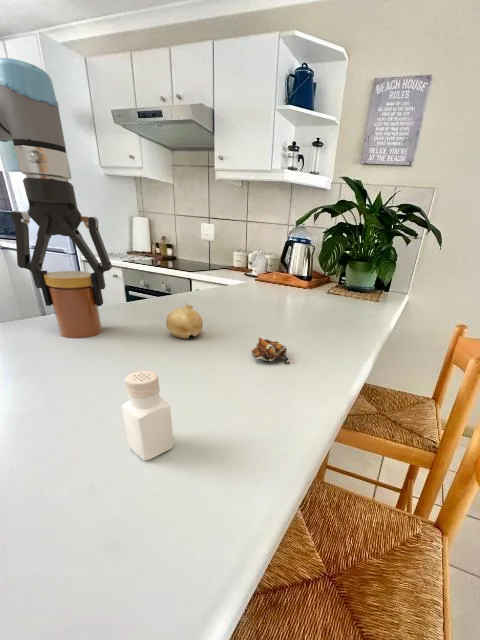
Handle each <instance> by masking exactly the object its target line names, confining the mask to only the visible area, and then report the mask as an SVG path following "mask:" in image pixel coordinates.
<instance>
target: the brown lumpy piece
mask: <svg viewBox="0 0 480 640" xmlns="http://www.w3.org/2000/svg"><path fill="white" fill-rule="evenodd" d="M286 352H287V347H286V346H285V345H282V343H280V342H279V341H277V340H271V339H269V338H266V339H263V338H261V337H260V336H259V337H258V341H257V344H256V347H255V348H253V349H252V350H251V354H252V356H254V358H255V359H261V360H262V361H268V362H273V361H274V360H275V359H277V358H278V359H279V358H281V359H284V362H283V363H284V364H288V365H289V364H290V363H291V360H290V359H289V358H288V357H287V355H286Z"/></svg>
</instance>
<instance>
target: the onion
mask: <svg viewBox="0 0 480 640" xmlns="http://www.w3.org/2000/svg"><path fill="white" fill-rule="evenodd" d="M184 304H185V305H184V306H183V307H177V308H175V309H173V310H171V311H170V312H169V313H168V314H167V317H166V319H165V325H166V328H167V330H168V332H169V333H170V334H171V335H172V336H173V337H176V338H178V339H190V336H193V337H197V336H198V335H199V334H200V333H201V332H202V330H203V325H204V322H203V319H202V316H201V315H200V313H199V312H198V311H197V310H195V309H194V308H193V305H192V304H188V303H187V302H185V303H184Z"/></svg>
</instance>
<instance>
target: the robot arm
mask: <svg viewBox="0 0 480 640" xmlns="http://www.w3.org/2000/svg"><path fill="white" fill-rule="evenodd" d="M61 119H62V118H61V113H60V108H59V102H58V100H57V97H56V93H55V88H54V84H53V80H52V78H51V76H50V75H49V74H48V73H47V72H46V71H45V70H44V69H42V68H40V66H37V65H35V64H33V63H30V62H27V61H23V60H20V59H15V58H10V57H0V142H2V143H7V142H9V141H10V142H12V143H13V148H14V152H15V156H16V159H17V162H18V167H19V171H20V173H21V174H23V175H25V177H23V179H22V184H23V186H24V187H23V188H24V191H25V194H26V195H25V196H26V198H27V202H28V209H27V211H19V210H13V211H10V217H11V220H12V222H13V224H14V227H15V229H14V230H15V245H16V262H17V266H18V267H19V268H20V269H25V270H28V271H30V273H31V275H32V278H33V283H34V286H35V287H36V289H41V292H42V295H43V299H44V303H45V306H46V307H51V306H53V304H52V300H51V296H50V292H49V288H48V285H46V283H45V279H44V276H43V275H44V274H45V273H48V270H43V269H44V268H43V265H44V262H45V257H46V253H47V250H48V246H49V243H50V240H51V238H52V236H63V237H69V238H70V240H71V241H72V242H73V243H74V245H75V246H76V247H77V249H78V250H79V252H80V253H81V255H82V256H83V258H84V259H85V260H86V262H87V264H88V266H90V268H91V269H92V271H93V272H91V273H92V274H91V279H92V284H93V289H94V294H95V300H96V305H97V306H98V307H102V306H103V304H104V298H103V293H102V290H105V289H106V281H105V273H106V272H108V271H110V270H111V269H112V268H113V265H112V262H111V260H110V257H109V255H108V251H107V249H106V246H105V244H104V240H103V238H102V236H101V233H100V230H99V219H98V217H96V216H87V215H82V213H81V212H80V211H79V208H78V203H77V198H76V194H75V188H74V185H73V184H72V183H71V182H70V181H69V180H72V178H73V176H72V173H71V167H70V163H69V158H68V153H67V148H66V142H65V136H64V131H63V126H62V120H61ZM31 219H32V221H33V222H34V223H35V224H36V225H37V226H38V230H37V233H36V241H35V244H34V249H33V253H32V256H31V252H30V229H29V224H30V223H31ZM81 223H83V225H84V226H85V228H87V229H88V232H89V235H90V237H91V241H92V243H93V246H94V249H95V251H96V253H97V255H98V258H99V260H98V259H97V258H96V255H95V254H94V253H93V251H92V250H91V249H90V247H89V245H88V244H87V242H86V241H85V239H84V238H83V235H82V233H81V232H80V231H79V229H78V228H79V226H80V225H81ZM99 261H100V262H99Z"/></svg>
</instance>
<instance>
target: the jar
mask: <svg viewBox="0 0 480 640" xmlns="http://www.w3.org/2000/svg"><path fill="white" fill-rule="evenodd" d="M48 288H49V292H50V296H51V300H52V307H53V311H54V315H55V319H56V323H57V326H58V327H57V328H58V331H59V334H60V336H61V337H64V338H68V339H84V338H90V337H94V336H97V335H100V334H102V333H103V327H102V320H101V315H100V311H99V306H97V305H96V300H95V294H94V289H93V285H91V286H86V287H77V288H60V287H51V286H48Z"/></svg>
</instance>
